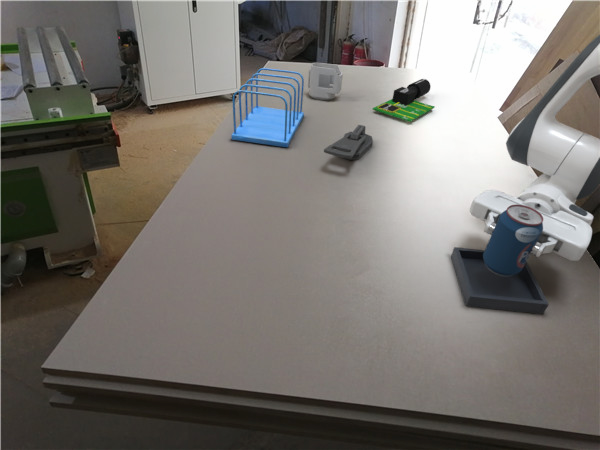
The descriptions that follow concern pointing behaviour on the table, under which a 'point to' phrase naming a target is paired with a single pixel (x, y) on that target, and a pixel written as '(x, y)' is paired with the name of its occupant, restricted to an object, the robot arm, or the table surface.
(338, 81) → the cable organizer
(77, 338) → the table surface
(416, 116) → the circuit board with cylinder
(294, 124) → the file sorter
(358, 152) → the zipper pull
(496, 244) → the soda can
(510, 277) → the tray
